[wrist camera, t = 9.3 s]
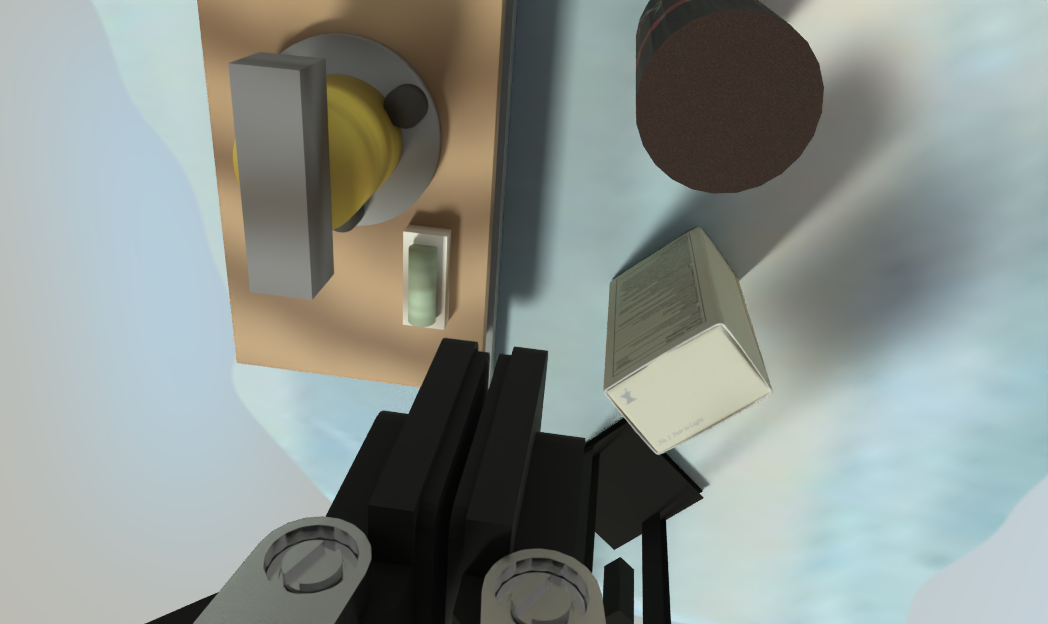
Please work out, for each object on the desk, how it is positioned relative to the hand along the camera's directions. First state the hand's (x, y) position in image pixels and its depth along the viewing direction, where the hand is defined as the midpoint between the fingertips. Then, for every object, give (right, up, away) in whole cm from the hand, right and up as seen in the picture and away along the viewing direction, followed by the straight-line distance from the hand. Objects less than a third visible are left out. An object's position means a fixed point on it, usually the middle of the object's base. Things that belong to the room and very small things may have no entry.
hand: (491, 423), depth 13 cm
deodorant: (+9, +15, +26) cm, 32 cm away
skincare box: (+9, +4, +32) cm, 34 cm away
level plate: (-8, +8, +28) cm, 30 cm away
